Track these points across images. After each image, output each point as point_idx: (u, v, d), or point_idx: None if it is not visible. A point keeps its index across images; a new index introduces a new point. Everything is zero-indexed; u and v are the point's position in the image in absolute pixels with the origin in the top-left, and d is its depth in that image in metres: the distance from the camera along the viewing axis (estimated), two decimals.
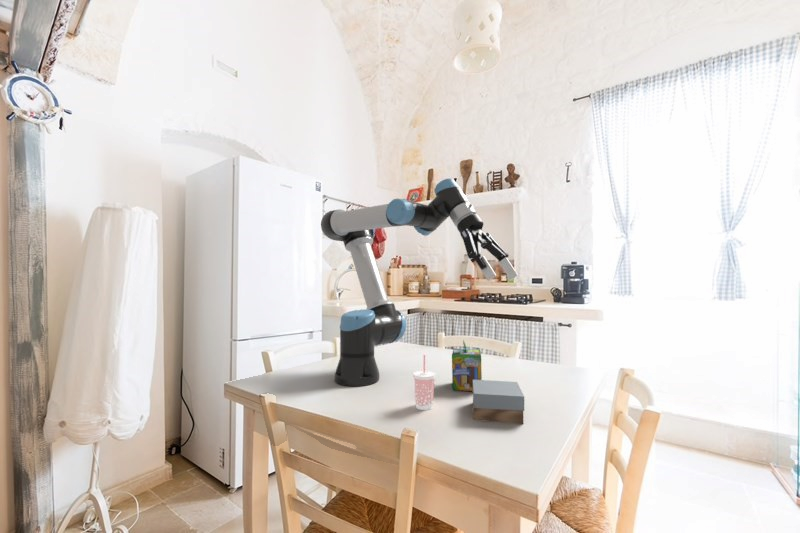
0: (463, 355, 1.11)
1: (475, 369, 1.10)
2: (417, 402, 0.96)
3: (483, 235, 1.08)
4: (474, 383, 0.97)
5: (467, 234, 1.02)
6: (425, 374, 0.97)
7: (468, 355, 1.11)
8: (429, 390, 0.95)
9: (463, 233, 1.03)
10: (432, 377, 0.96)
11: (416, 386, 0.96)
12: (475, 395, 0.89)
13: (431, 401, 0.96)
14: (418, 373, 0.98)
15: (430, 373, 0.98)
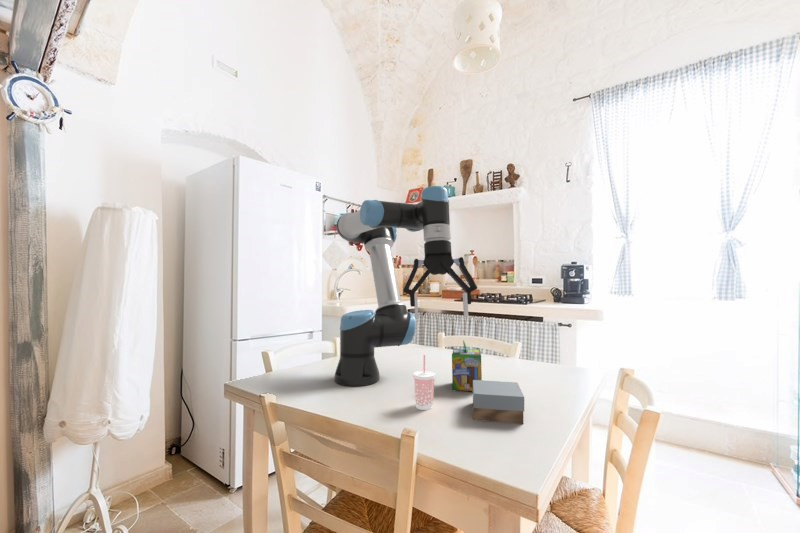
0: (463, 355, 1.11)
1: (475, 369, 1.10)
2: (417, 402, 0.96)
3: (442, 265, 0.98)
4: (475, 384, 0.97)
5: None
6: (425, 374, 0.97)
7: (468, 355, 1.11)
8: (429, 390, 0.95)
9: None
10: (432, 377, 0.96)
11: (416, 386, 0.96)
12: (475, 395, 0.89)
13: (431, 401, 0.96)
14: (418, 373, 0.98)
15: (430, 373, 0.98)
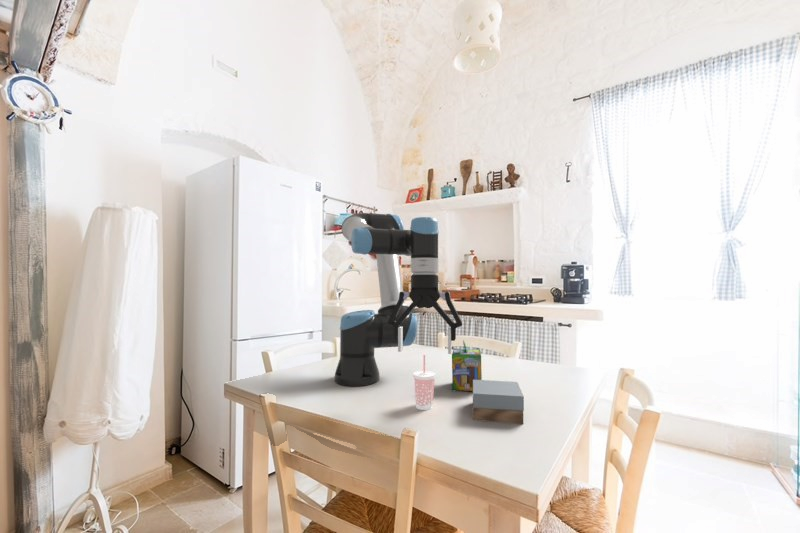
0: (463, 355, 1.11)
1: (475, 369, 1.10)
2: (417, 402, 0.96)
3: (427, 299, 0.96)
4: (474, 384, 0.97)
5: None
6: (425, 374, 0.97)
7: (468, 355, 1.11)
8: (429, 390, 0.95)
9: None
10: (432, 377, 0.96)
11: (416, 386, 0.96)
12: (474, 395, 0.89)
13: (431, 401, 0.96)
14: (418, 373, 0.98)
15: (430, 373, 0.98)
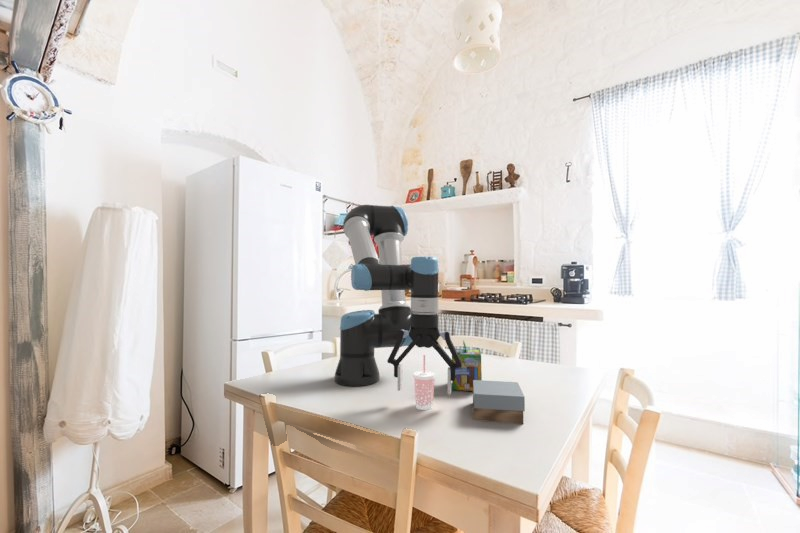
0: (463, 355, 1.11)
1: (475, 369, 1.10)
2: (417, 402, 0.96)
3: (426, 339, 0.96)
4: (475, 384, 0.97)
5: None
6: (425, 374, 0.97)
7: (468, 355, 1.11)
8: (429, 390, 0.95)
9: None
10: (432, 377, 0.96)
11: (416, 386, 0.96)
12: (475, 395, 0.89)
13: (431, 401, 0.96)
14: (418, 373, 0.98)
15: (430, 373, 0.98)
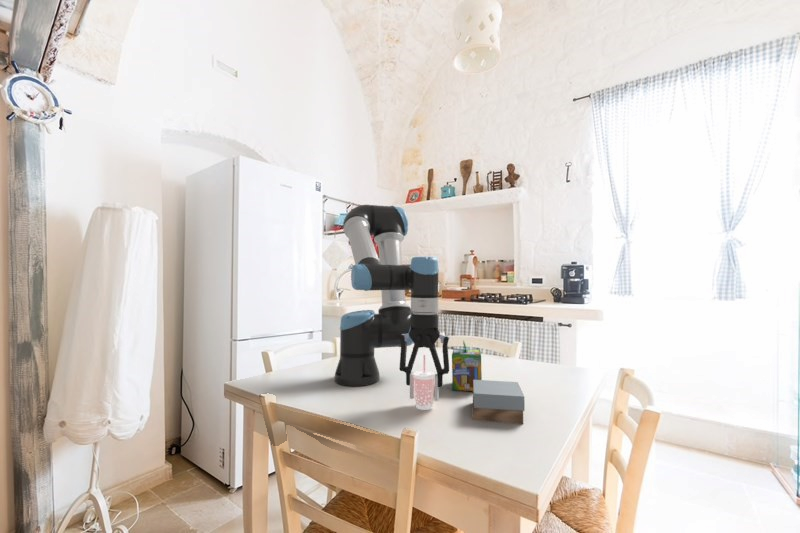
0: (463, 355, 1.11)
1: (475, 369, 1.10)
2: (417, 402, 0.96)
3: (426, 338, 0.96)
4: (475, 384, 0.97)
5: None
6: (425, 374, 0.97)
7: (468, 355, 1.11)
8: (429, 390, 0.95)
9: None
10: (432, 377, 0.96)
11: (416, 386, 0.96)
12: (475, 395, 0.89)
13: (431, 401, 0.96)
14: (418, 373, 0.98)
15: (430, 373, 0.98)
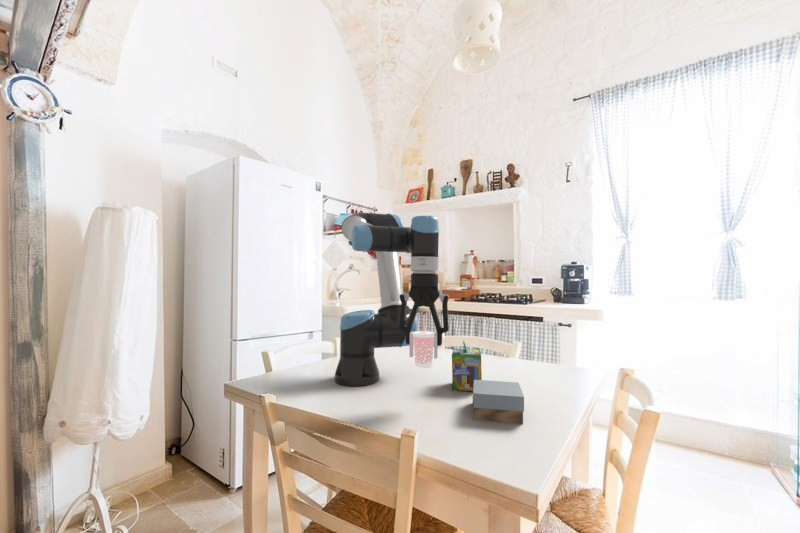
0: (463, 355, 1.11)
1: (475, 369, 1.10)
2: (417, 360, 0.97)
3: (426, 297, 0.97)
4: (475, 383, 0.97)
5: None
6: (425, 333, 0.97)
7: (468, 355, 1.11)
8: (428, 348, 0.96)
9: None
10: (432, 335, 0.96)
11: (416, 344, 0.97)
12: (474, 395, 0.89)
13: (430, 359, 0.97)
14: (418, 332, 0.99)
15: (430, 332, 0.99)
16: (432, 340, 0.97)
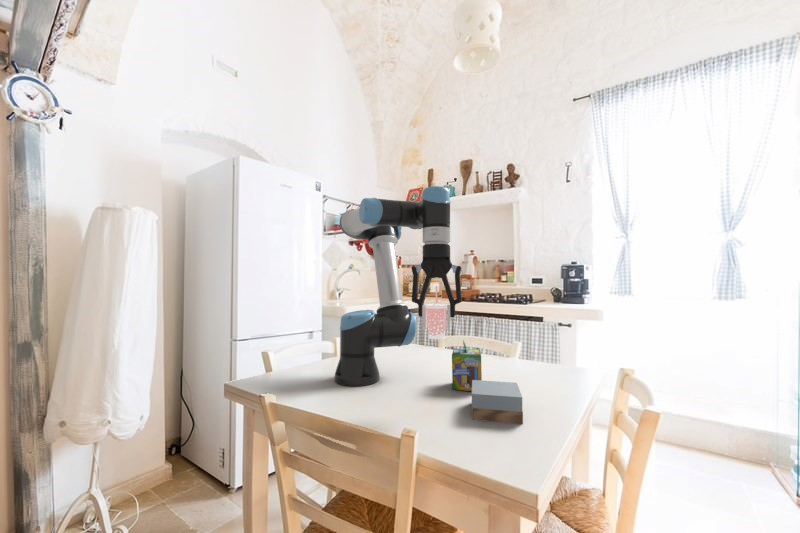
0: (463, 355, 1.11)
1: (475, 369, 1.10)
2: (429, 332, 0.95)
3: (438, 268, 0.96)
4: (473, 384, 0.97)
5: None
6: (437, 304, 0.96)
7: (468, 355, 1.11)
8: (441, 319, 0.95)
9: None
10: (444, 306, 0.95)
11: (428, 316, 0.96)
12: (473, 395, 0.89)
13: (444, 331, 0.95)
14: None
15: (442, 305, 0.98)
16: (445, 311, 0.95)
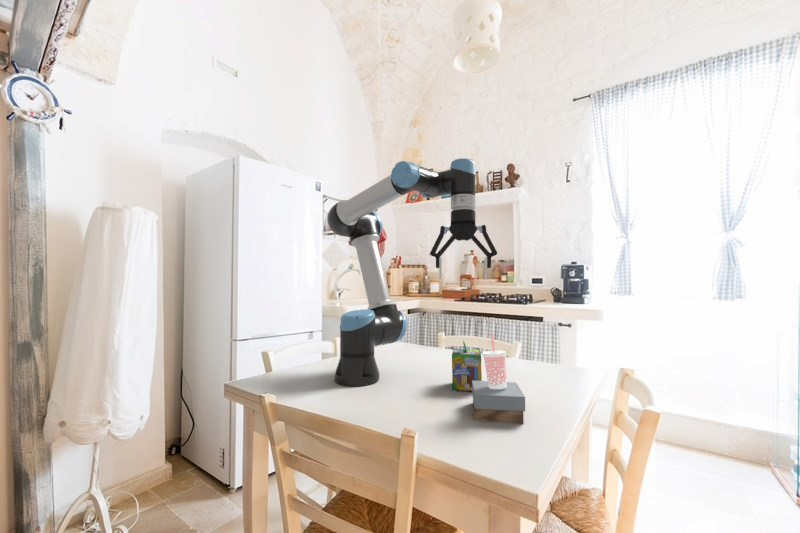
0: (463, 355, 1.11)
1: (475, 369, 1.10)
2: (490, 382, 0.93)
3: (465, 231, 1.09)
4: (474, 384, 0.96)
5: (440, 232, 1.11)
6: (495, 352, 0.94)
7: (468, 355, 1.11)
8: (501, 367, 0.92)
9: None
10: (503, 354, 0.92)
11: (487, 365, 0.93)
12: (476, 396, 0.89)
13: (505, 380, 0.92)
14: (487, 352, 0.95)
15: (499, 351, 0.95)
16: (504, 359, 0.93)
